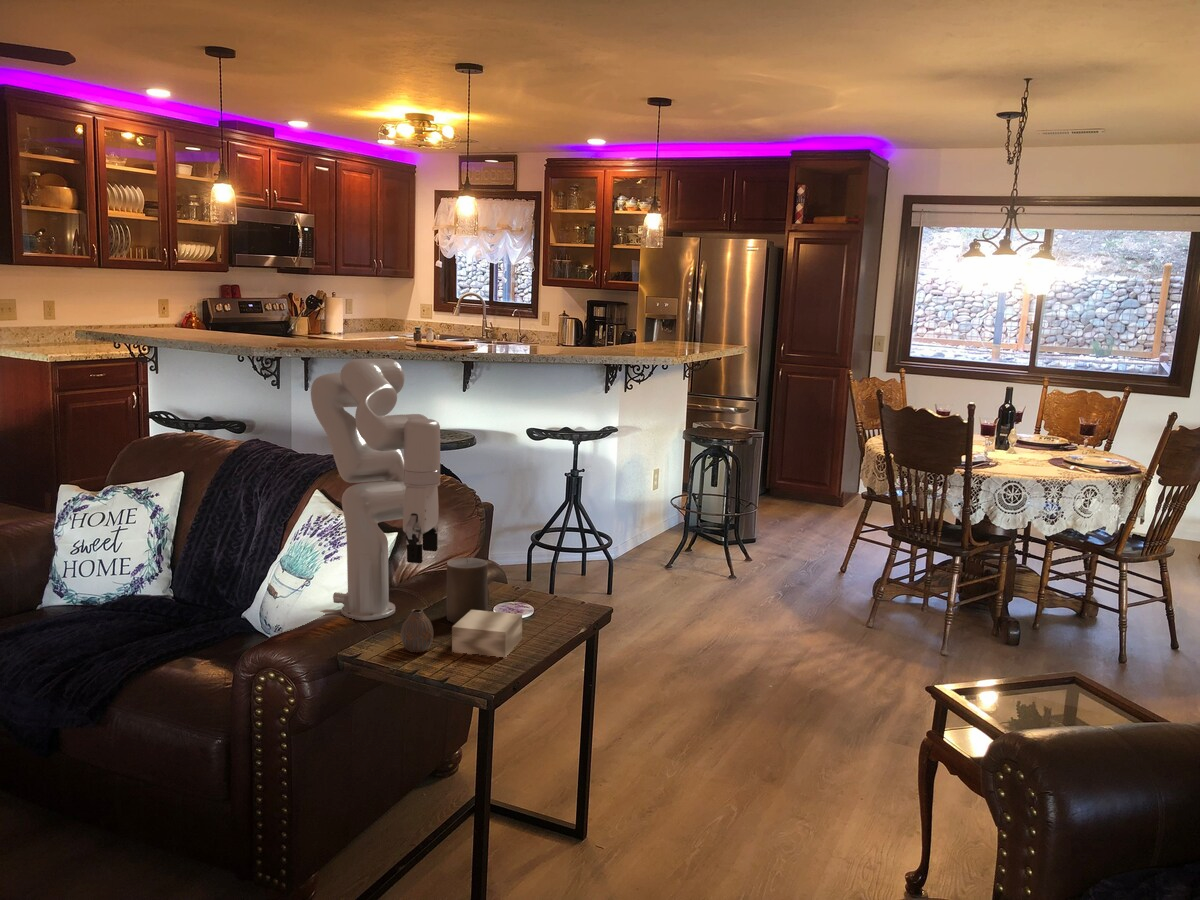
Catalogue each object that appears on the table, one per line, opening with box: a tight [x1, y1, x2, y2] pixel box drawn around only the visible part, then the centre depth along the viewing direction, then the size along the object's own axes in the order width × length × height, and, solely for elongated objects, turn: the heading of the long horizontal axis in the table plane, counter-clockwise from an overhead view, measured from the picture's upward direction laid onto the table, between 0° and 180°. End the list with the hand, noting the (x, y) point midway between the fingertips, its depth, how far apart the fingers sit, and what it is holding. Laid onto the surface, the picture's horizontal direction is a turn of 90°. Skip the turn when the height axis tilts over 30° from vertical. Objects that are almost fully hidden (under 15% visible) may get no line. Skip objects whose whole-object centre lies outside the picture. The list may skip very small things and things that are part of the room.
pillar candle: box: [445, 557, 489, 624], centre depth 226 cm, size 10×10×15 cm
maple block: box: [451, 610, 523, 659], centre depth 209 cm, size 12×12×6 cm
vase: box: [400, 608, 434, 654], centre depth 206 cm, size 7×7×9 cm
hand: (422, 556), depth 204 cm, fingers open, 9 cm apart
